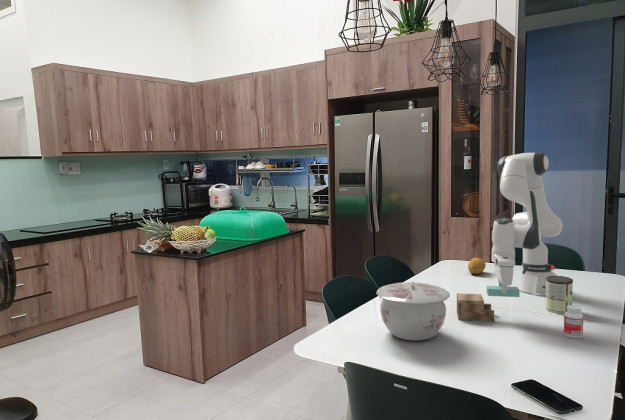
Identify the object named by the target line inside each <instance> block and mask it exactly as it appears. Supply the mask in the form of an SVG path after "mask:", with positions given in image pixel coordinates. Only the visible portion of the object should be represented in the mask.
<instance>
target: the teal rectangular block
mask: <svg viewBox="0 0 625 420" xmlns="http://www.w3.org/2000/svg"><path fill="white" fill-rule="evenodd" d="M501 288H502V286H499V285H486V294H487V296H488V297H505V298H520V293H521V292H520V291H521V290H519V287H518V286H509V285H508V286H507V292H506V293H502V291H501Z"/></svg>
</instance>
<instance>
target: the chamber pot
mask: <svg viewBox="0 0 625 420" xmlns="http://www.w3.org/2000/svg"><path fill="white" fill-rule="evenodd" d="M376 295H377V296H378V297H379V298H380V299H382V300H381V303H380V305H379V306H380V310H379V311H380V314H381V320H382V322H383V324H384V325H385V328H387V330H388V331H389V333H390V334H391V335H392V336H394V337H396V338H398V339H400V340H401V339H402V340H405V341H410V342H413V341H414V342H420V341H425V340H430V339H432V338H434V337H435V336H437V334H438V333H439V331H440V330H441V329H442V327H443V325H444V324H445V319H446V315H447V313H446V312H447V311H446V310H447V309H446V308H447V307H446V304H445V302H444V301H446V300H448V299H449V298H450V297H451V296H450V295H451V294H450V292H449V291H448V290H447V289H446V288H443V287H440V286H438V285H434V284H429V283H423V282H414V281H411V282H407V281H406V282H395V283H391V284H387V285H383V286H381V287H379V288H378V289H377V291H376Z"/></svg>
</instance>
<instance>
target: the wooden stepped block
mask: <svg viewBox="0 0 625 420" xmlns="http://www.w3.org/2000/svg"><path fill="white" fill-rule="evenodd" d="M482 295H483V294H481V293H480V294H479V293H459V292H458V293H456V315H457V316H456V317H457V319H458V320H459V321H473V322H474V321H476V322H477V321H478V322H479V321H481V322H495V310H494V309H492V303H485V300H484V298H483V296H482Z"/></svg>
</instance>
